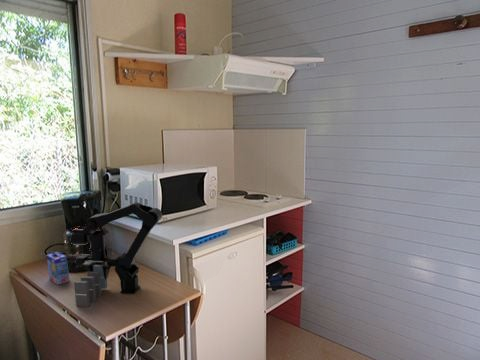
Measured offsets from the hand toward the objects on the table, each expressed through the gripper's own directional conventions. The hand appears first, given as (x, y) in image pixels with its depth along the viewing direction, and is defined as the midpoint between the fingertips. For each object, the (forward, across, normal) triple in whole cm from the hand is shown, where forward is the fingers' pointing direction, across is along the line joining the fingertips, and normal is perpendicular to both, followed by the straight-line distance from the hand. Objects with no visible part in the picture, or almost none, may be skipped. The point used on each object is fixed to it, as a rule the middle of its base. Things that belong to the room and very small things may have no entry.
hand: (100, 278), depth 151 cm
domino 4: (+5, 0, +4) cm, 7 cm away
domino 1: (+5, 0, +14) cm, 14 cm away
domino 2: (+5, 0, +9) cm, 10 cm away
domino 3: (+4, 0, 0) cm, 4 cm away
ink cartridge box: (+5, +25, -7) cm, 26 cm away
